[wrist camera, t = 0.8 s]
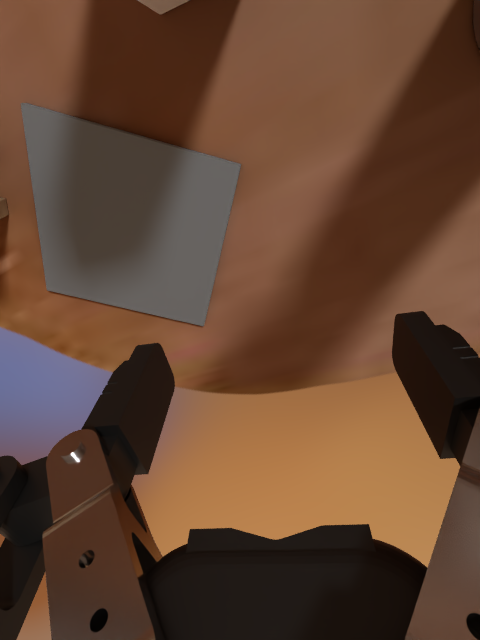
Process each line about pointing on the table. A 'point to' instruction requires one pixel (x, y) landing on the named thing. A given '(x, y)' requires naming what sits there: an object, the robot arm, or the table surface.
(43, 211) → the mat
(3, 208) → the tan legged block
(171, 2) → the milk
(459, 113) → the table surface
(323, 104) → the table surface
